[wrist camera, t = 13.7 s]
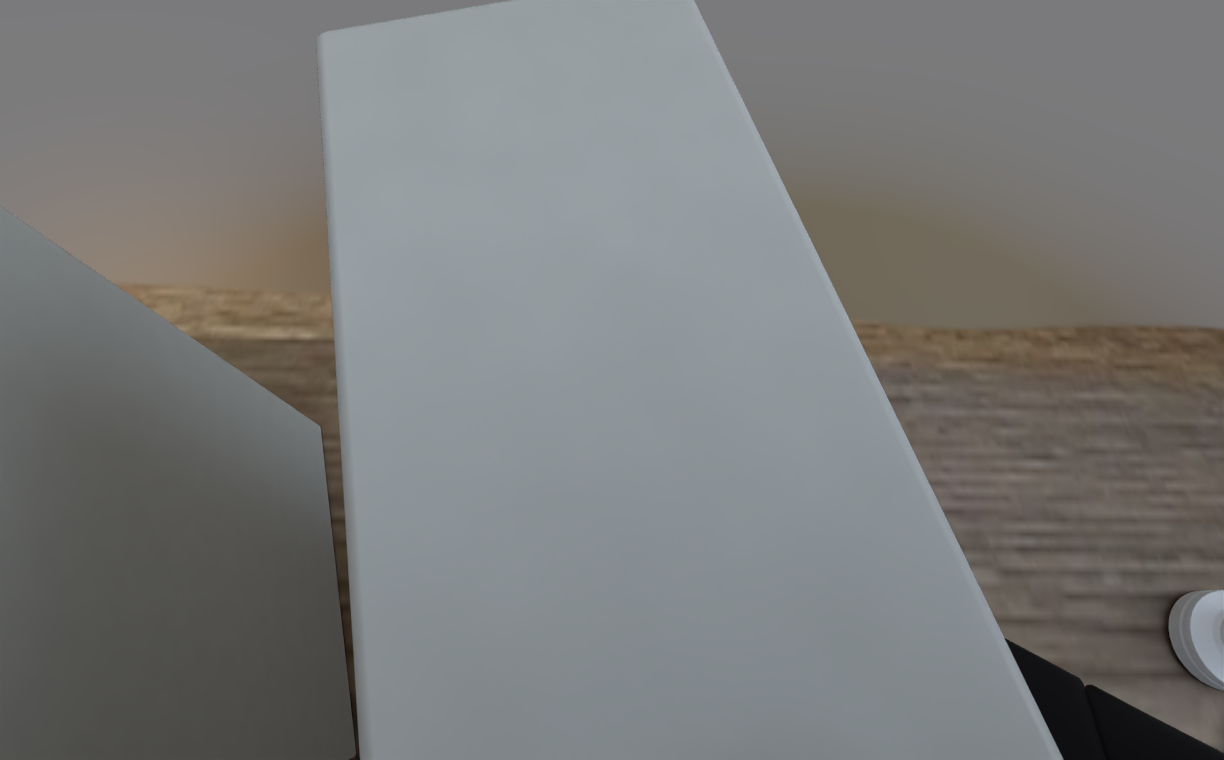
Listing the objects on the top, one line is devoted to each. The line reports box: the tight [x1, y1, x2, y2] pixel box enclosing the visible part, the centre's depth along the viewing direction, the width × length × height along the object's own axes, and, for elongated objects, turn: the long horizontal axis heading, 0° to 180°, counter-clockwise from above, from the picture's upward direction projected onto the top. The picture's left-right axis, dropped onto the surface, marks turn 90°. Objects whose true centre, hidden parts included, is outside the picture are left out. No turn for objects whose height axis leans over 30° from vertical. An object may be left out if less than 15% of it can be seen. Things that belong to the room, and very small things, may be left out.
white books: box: [0, 206, 356, 760], centre depth 12 cm, size 9×5×13 cm, turn 14°
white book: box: [316, 0, 1063, 760], centre depth 9 cm, size 9×3×13 cm, turn 14°
